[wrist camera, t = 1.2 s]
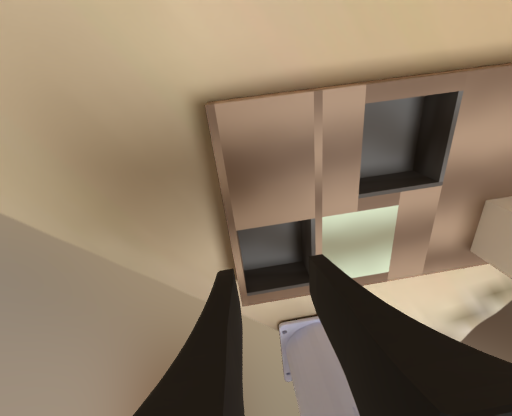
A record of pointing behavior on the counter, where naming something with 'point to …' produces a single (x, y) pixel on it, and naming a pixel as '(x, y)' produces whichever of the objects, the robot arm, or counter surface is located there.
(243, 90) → the counter surface
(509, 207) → the block
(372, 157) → the trap board
